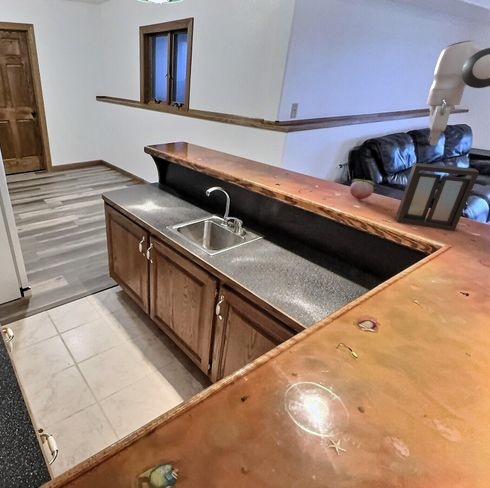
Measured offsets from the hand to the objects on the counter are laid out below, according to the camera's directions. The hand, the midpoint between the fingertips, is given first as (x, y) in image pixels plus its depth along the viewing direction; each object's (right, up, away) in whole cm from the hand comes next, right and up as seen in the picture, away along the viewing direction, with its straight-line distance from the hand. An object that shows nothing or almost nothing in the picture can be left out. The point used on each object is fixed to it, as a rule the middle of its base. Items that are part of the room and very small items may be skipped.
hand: (432, 143), depth 118 cm
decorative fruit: (-4, -14, +37) cm, 40 cm away
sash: (+5, -23, +16) cm, 28 cm away
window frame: (+7, -27, +13) cm, 30 cm away
